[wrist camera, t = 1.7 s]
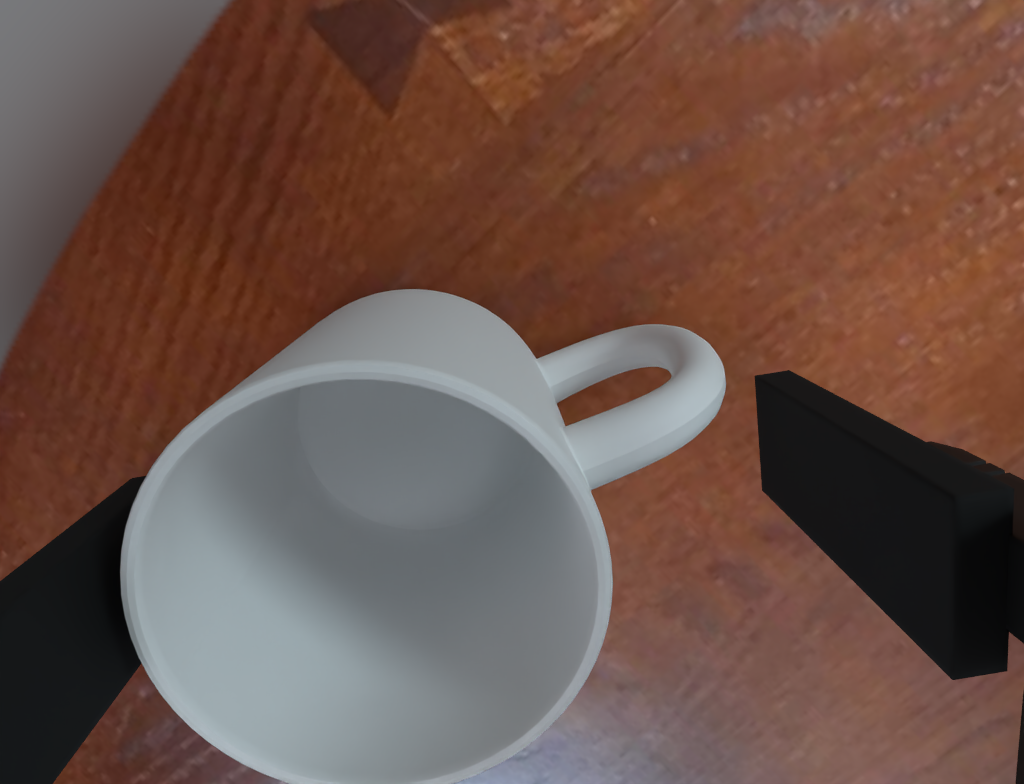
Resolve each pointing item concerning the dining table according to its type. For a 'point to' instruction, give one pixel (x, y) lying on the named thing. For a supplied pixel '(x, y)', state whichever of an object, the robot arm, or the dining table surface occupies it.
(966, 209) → the dining table surface
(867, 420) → the robot arm
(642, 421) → the cup
